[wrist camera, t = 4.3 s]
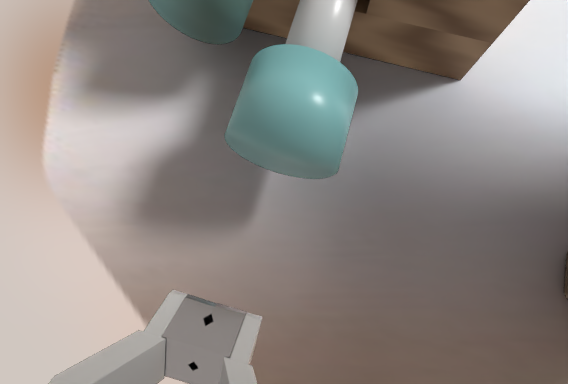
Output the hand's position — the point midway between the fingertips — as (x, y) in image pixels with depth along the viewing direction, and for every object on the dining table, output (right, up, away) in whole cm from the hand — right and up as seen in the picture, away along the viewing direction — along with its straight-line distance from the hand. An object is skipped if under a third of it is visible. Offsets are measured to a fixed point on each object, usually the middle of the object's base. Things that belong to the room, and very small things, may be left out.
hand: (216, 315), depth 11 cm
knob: (+4, +11, +10) cm, 15 cm away
